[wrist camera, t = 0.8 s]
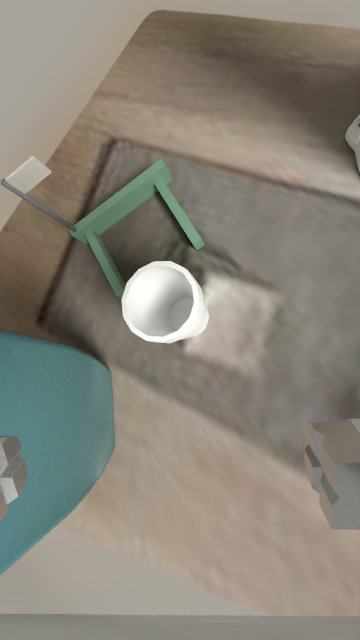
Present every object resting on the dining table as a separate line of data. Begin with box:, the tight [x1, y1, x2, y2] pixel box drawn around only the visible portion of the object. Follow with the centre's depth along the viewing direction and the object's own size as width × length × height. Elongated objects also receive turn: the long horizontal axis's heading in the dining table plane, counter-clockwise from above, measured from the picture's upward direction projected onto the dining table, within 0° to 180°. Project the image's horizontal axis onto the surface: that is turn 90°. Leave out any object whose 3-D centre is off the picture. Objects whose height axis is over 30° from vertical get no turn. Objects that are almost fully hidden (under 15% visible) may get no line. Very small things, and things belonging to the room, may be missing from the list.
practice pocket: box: [1, 156, 205, 299], centre depth 42 cm, size 14×19×18 cm
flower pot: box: [0, 330, 115, 575], centre depth 36 cm, size 20×20×28 cm
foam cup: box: [121, 261, 209, 343], centre depth 40 cm, size 10×9×13 cm
